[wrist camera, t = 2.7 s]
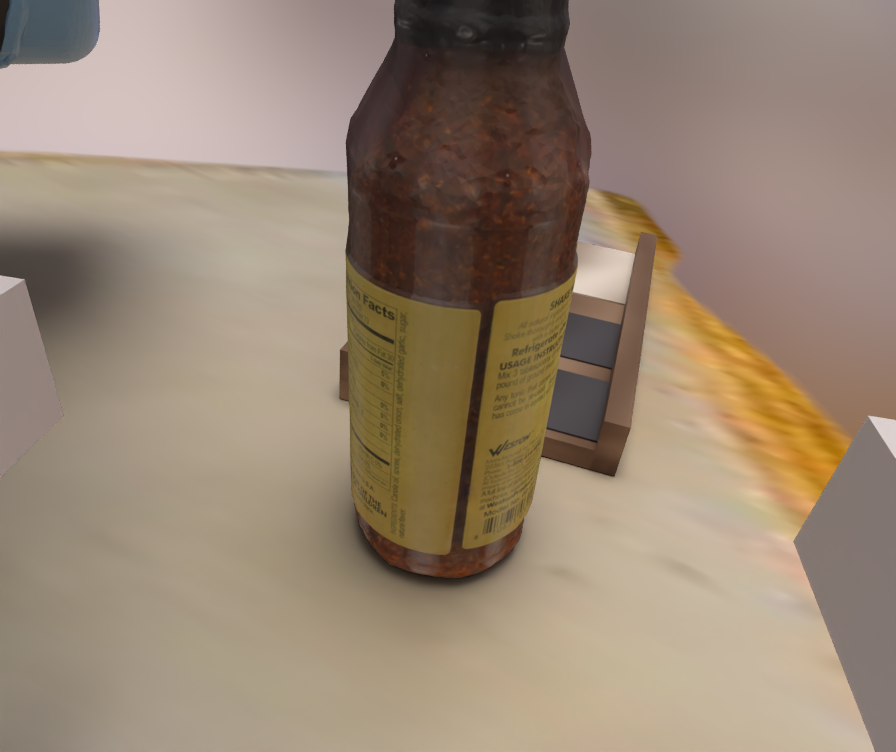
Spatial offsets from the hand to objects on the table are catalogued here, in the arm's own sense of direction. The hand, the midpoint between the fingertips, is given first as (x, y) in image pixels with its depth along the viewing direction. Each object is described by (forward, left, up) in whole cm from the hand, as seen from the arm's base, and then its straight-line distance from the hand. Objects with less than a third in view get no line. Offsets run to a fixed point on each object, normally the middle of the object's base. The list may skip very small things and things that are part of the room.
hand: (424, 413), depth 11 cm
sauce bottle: (-2, +8, -11) cm, 14 cm away
